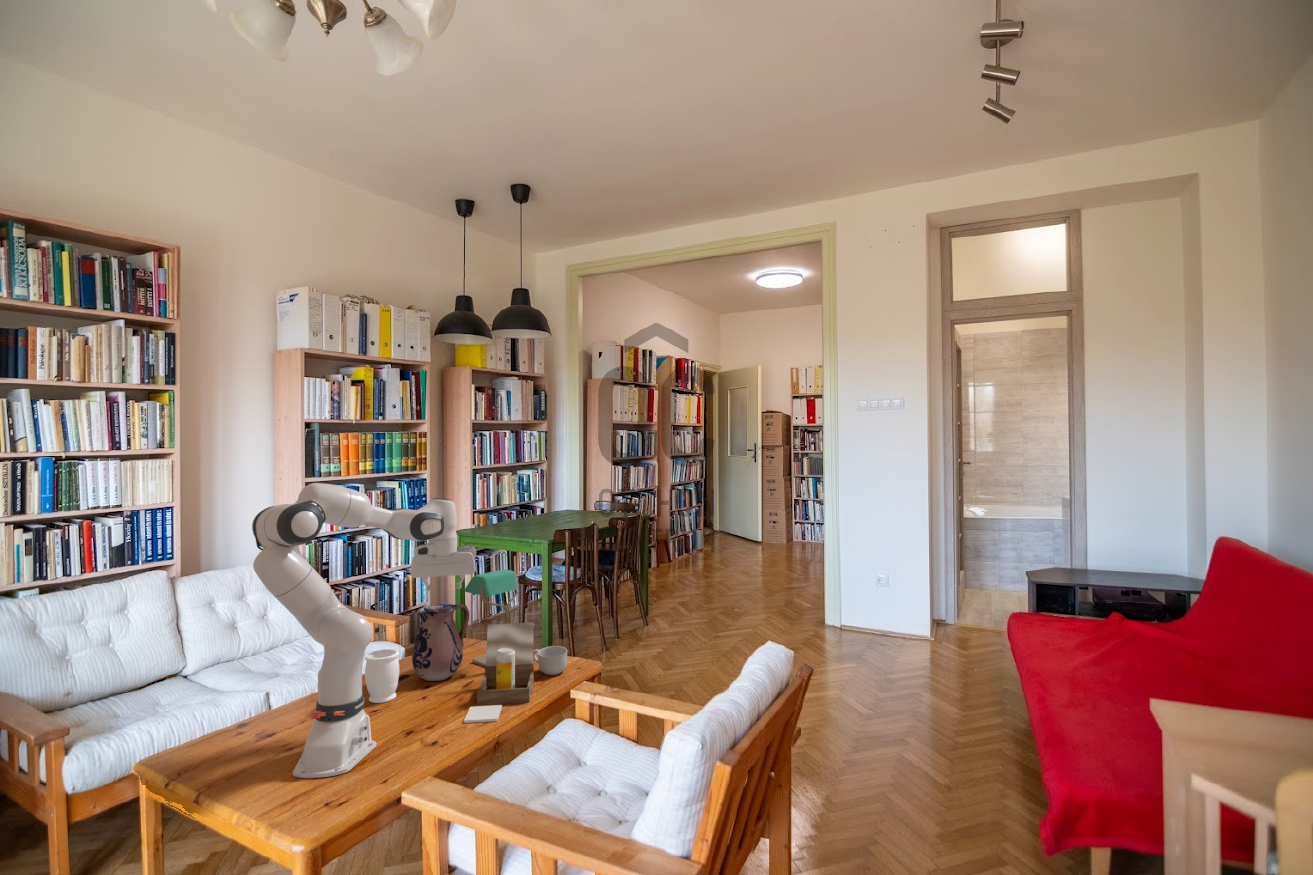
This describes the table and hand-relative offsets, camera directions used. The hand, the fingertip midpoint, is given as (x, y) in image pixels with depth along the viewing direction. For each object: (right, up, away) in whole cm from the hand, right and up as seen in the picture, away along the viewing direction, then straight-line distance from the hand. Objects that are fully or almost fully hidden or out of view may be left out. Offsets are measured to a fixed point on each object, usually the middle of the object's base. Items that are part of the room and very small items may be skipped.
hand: (443, 589), depth 206 cm
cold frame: (+19, -37, +9) cm, 42 cm away
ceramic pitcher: (-9, -38, +25) cm, 46 cm away
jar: (-22, -38, +4) cm, 44 cm away
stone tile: (+16, -37, -10) cm, 41 cm away
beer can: (+19, -37, +6) cm, 42 cm away
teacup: (+30, -37, +27) cm, 55 cm away
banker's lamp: (+8, -38, +36) cm, 52 cm away
